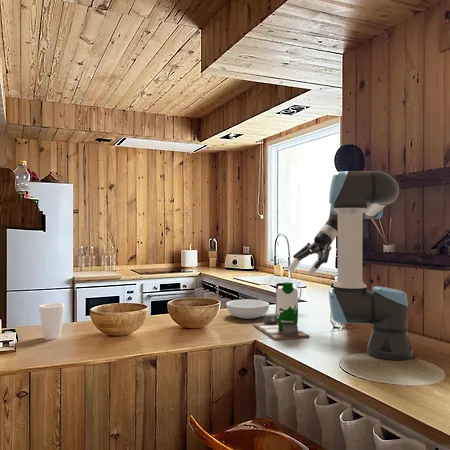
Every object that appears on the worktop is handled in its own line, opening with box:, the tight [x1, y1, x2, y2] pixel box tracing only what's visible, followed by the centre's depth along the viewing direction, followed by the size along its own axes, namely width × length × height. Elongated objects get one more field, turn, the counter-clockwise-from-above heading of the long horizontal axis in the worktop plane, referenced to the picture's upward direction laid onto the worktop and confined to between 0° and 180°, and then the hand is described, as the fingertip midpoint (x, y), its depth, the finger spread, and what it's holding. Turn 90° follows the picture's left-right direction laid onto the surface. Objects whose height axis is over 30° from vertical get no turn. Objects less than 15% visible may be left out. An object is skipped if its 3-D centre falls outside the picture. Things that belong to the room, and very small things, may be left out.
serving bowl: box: [225, 298, 270, 320], centre depth 220 cm, size 21×21×7 cm
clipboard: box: [252, 313, 310, 341], centre depth 191 cm, size 25×15×5 cm, turn 16°
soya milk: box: [276, 282, 299, 332], centre depth 188 cm, size 9×9×20 cm
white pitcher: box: [274, 282, 302, 315], centre depth 229 cm, size 9×14×15 cm, turn 107°
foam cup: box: [38, 302, 66, 341], centre depth 180 cm, size 10×9×13 cm
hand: (299, 272), depth 196 cm, fingers open, 13 cm apart
